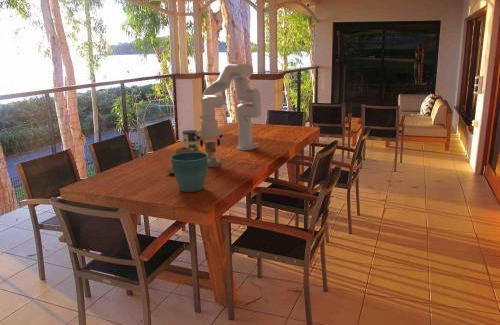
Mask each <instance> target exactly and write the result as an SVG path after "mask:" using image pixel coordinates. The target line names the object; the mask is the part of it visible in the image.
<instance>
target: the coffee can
mask: <svg viewBox="0 0 500 325" xmlns="http://www.w3.org/2000/svg"><path fill="white" fill-rule="evenodd" d="M198 131H199V130H195V129H194V130H193V129H191V130H183V131H182V145H183V147H184V148H192V149H193V150H194V152H199V139H198V138H197V137H196V135H195V133H196V132H198Z"/></svg>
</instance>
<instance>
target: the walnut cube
mask: <svg viewBox="0 0 500 325" xmlns="http://www.w3.org/2000/svg"><path fill="white" fill-rule="evenodd" d="M216 145H217V144H216V141H215V139H214V140H213V139H211V140H208V139H207V140H204V153H205V152H217V151H216V147H217V146H216Z"/></svg>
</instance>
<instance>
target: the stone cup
mask: <svg viewBox="0 0 500 325" xmlns="http://www.w3.org/2000/svg"><path fill="white" fill-rule="evenodd" d="M186 152H194V150H193V149H192V148H184V147H181V146H180V147H179V146H178V147H176V149H175V155H176V154H179V153H186ZM166 173H167V174H173V175H174V172H173V166H171V167H168V168H167V169H166Z"/></svg>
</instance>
